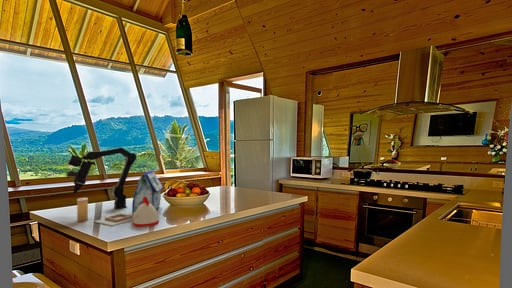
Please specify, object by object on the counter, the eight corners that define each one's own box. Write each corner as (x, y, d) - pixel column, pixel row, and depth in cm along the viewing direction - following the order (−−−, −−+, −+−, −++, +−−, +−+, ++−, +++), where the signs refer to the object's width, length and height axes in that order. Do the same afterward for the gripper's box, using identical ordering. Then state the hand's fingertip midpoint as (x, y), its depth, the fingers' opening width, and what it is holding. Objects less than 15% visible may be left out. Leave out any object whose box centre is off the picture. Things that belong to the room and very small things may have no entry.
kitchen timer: (153, 218, 171) (153, 194, 171) (162, 223, 161) (162, 197, 161) (129, 223, 162) (129, 196, 162) (137, 228, 152) (137, 200, 152)
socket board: (124, 214, 181) (124, 211, 181) (142, 217, 174) (142, 214, 174) (94, 222, 163) (94, 218, 163) (112, 226, 156) (112, 222, 156)
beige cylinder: (85, 218, 171) (85, 197, 170) (89, 220, 167) (89, 198, 167) (75, 220, 166) (75, 198, 166) (79, 222, 163) (79, 199, 163)
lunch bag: (158, 214, 183) (158, 173, 182) (130, 214, 180) (130, 173, 180) (163, 206, 205) (163, 169, 204) (139, 206, 202) (139, 170, 202)
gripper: (71, 165, 190) (60, 187, 186) (70, 166, 174) (59, 190, 171) (89, 170, 195) (79, 192, 192) (90, 171, 180) (79, 195, 176)
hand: (74, 192), depth 182 cm, fingers open, 9 cm apart
